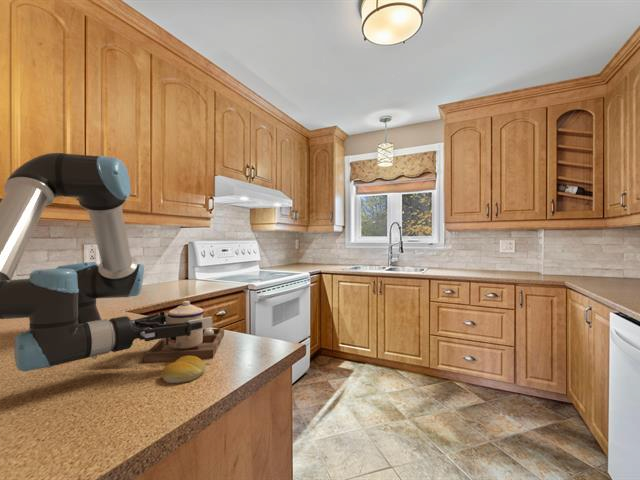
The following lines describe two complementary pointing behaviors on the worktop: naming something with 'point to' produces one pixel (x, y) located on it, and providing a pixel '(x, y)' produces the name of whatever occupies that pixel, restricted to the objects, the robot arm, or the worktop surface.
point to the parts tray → (201, 351)
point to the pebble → (208, 332)
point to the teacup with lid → (182, 316)
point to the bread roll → (183, 370)
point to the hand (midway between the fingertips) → (199, 318)
